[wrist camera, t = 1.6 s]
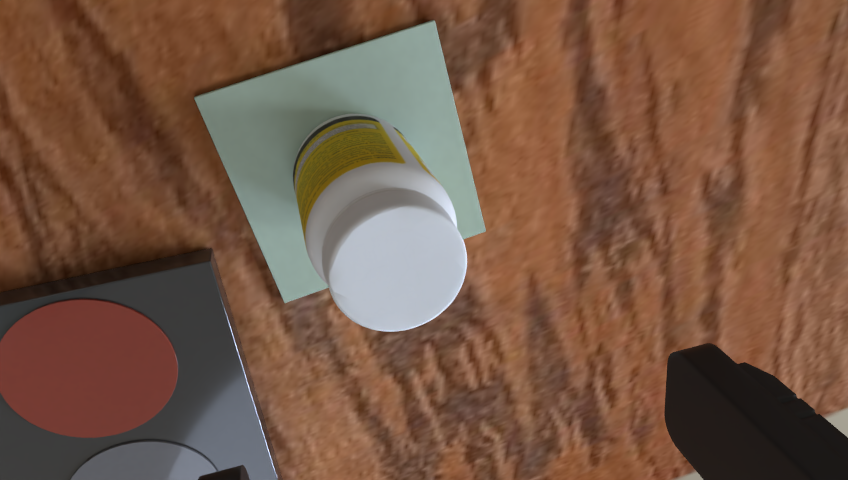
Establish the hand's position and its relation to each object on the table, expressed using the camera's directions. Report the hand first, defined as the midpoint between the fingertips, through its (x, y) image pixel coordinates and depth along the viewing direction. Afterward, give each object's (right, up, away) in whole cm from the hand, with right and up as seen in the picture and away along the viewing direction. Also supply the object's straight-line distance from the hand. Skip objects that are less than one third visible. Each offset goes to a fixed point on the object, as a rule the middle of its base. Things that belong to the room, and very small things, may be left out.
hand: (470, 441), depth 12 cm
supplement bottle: (-4, +6, +14) cm, 15 cm away
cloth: (-4, +6, +14) cm, 15 cm away
